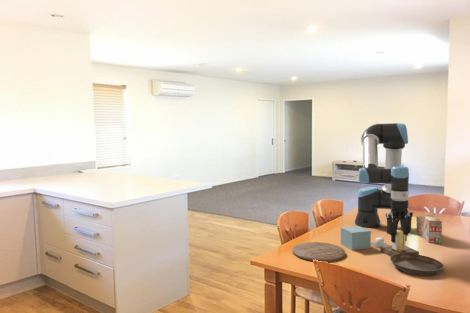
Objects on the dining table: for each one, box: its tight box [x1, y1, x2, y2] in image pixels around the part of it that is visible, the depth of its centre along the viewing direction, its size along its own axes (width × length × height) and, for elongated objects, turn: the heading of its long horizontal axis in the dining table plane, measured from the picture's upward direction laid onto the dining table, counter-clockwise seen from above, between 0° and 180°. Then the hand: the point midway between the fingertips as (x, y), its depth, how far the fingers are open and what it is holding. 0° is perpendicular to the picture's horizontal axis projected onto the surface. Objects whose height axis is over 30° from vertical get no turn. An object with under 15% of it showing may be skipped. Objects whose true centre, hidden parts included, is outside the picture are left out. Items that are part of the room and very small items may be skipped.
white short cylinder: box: [371, 237, 390, 249], centre depth 191 cm, size 8×8×4 cm
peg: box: [394, 229, 403, 253], centre depth 175 cm, size 4×4×12 cm
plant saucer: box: [389, 254, 444, 276], centre depth 160 cm, size 21×21×3 cm
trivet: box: [292, 241, 346, 263], centre depth 181 cm, size 25×25×2 cm
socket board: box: [379, 244, 420, 257], centre depth 178 cm, size 12×12×2 cm
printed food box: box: [416, 214, 443, 244], centre depth 204 cm, size 21×6×12 cm, turn 170°
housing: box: [340, 225, 372, 251], centre depth 191 cm, size 11×11×9 cm
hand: (398, 248), depth 175 cm, fingers open, 4 cm apart
